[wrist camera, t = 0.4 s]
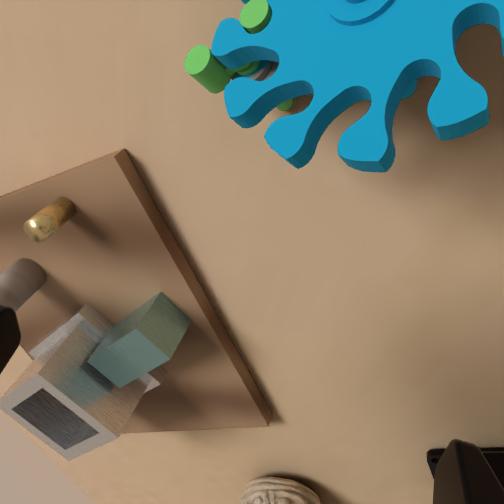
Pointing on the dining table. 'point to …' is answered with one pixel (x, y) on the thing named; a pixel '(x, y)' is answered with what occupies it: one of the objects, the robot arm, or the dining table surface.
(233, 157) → the dining table surface
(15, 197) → the post board
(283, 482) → the carving
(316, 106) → the blue toy animal
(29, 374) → the grey piece
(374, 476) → the dining table surface
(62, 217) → the dowel pin
